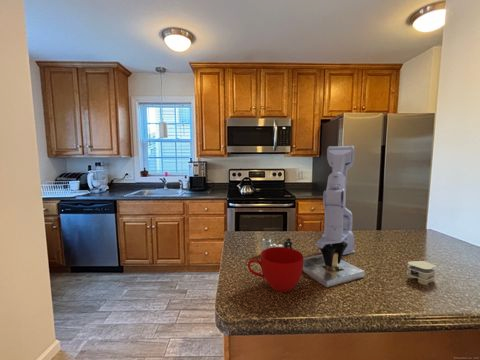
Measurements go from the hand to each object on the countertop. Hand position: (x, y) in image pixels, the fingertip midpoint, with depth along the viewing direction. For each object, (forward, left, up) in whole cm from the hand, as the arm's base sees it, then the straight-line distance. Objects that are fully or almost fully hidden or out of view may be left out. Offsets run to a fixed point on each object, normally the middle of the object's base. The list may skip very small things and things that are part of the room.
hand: (332, 264), depth 81 cm
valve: (+9, -22, -4) cm, 24 cm away
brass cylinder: (0, 0, -3) cm, 3 cm away
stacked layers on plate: (-22, +15, -4) cm, 27 cm away
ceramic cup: (+22, -1, -4) cm, 22 cm away
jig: (0, 0, -3) cm, 3 cm away
